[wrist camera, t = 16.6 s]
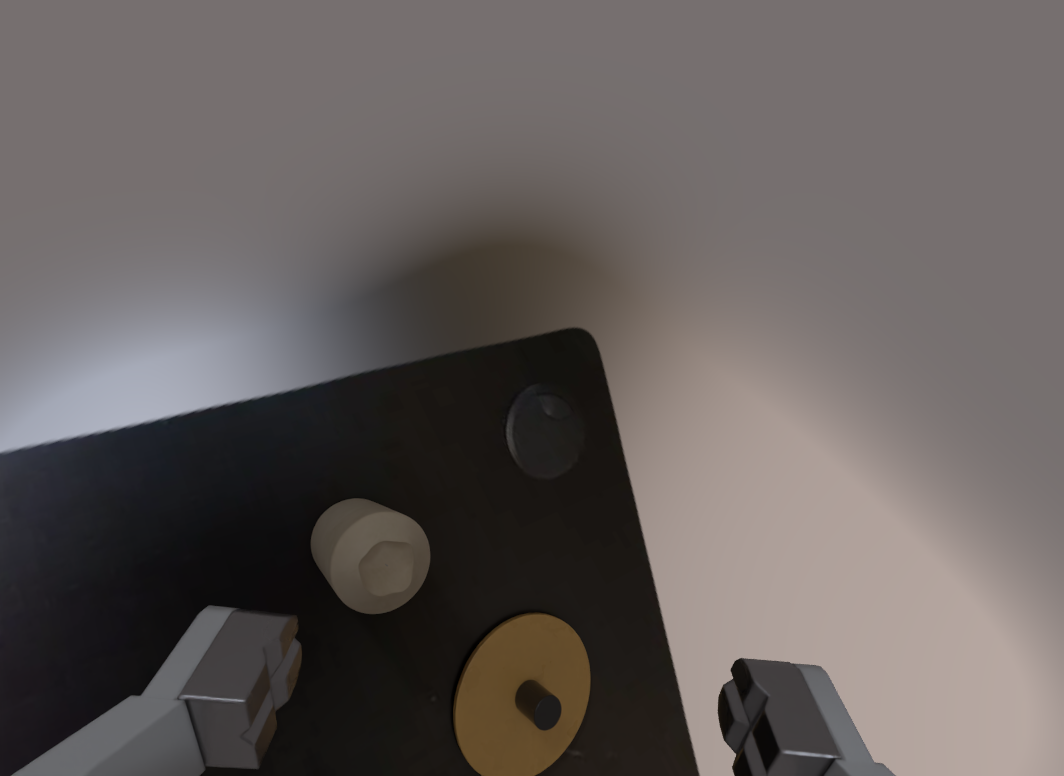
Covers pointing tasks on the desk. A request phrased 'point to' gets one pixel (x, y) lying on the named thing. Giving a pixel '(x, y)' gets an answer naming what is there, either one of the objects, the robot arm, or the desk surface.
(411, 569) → the candle
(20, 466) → the desk surface
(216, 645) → the robot arm
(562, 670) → the tin lid
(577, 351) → the desk surface
